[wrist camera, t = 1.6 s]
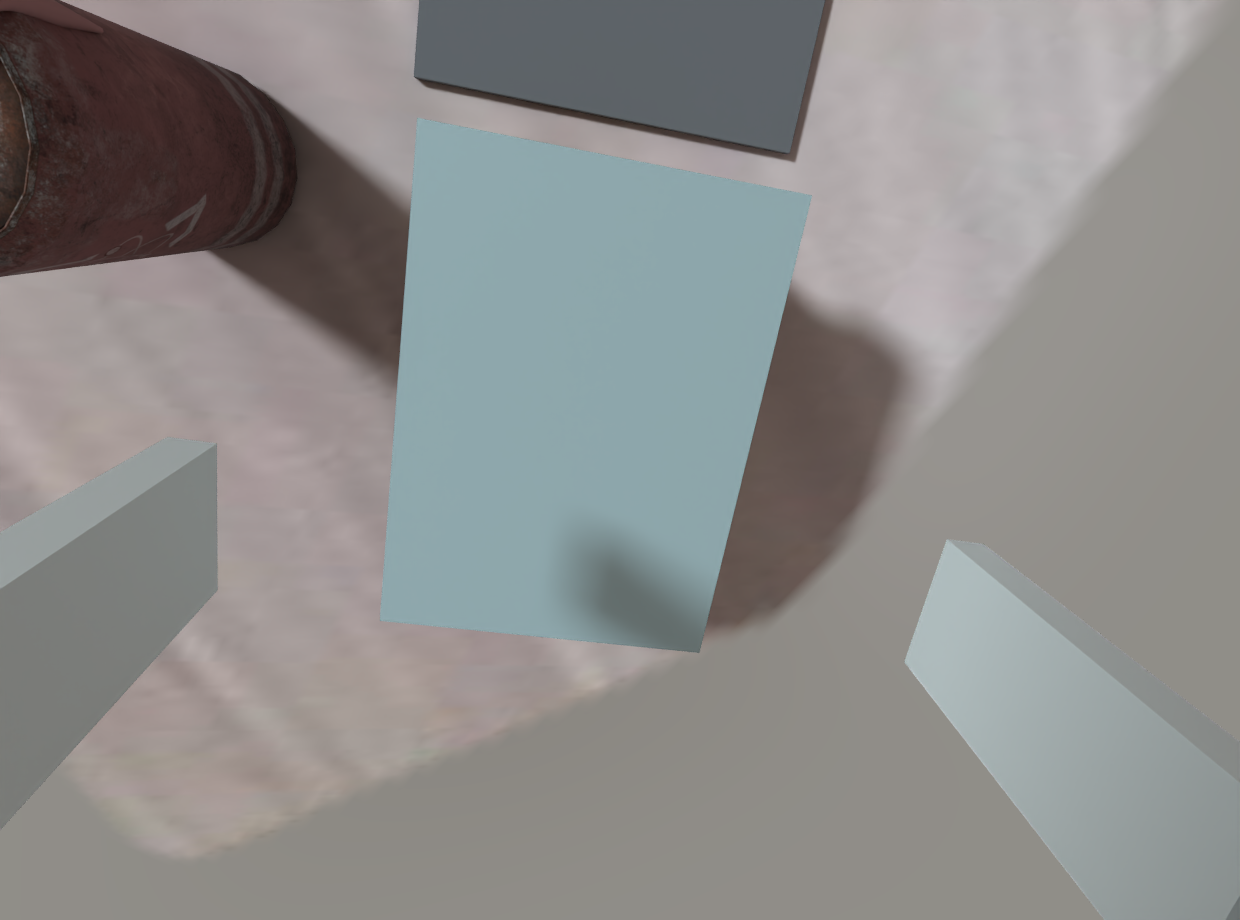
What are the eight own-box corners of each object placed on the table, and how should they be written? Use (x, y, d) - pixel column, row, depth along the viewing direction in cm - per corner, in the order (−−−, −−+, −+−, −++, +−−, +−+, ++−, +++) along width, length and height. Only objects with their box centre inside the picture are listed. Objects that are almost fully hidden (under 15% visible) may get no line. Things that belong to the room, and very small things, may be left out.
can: (338, 142, 26) (116, 78, 13) (245, 279, 27) (-44, 348, 14) (184, 15, 24) (-255, -209, 11) (92, 167, 26) (-399, 128, 12)
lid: (449, 138, 22) (417, 118, 17) (755, 197, 23) (811, 195, 18) (413, 540, 27) (379, 620, 21) (672, 570, 28) (699, 652, 23)
